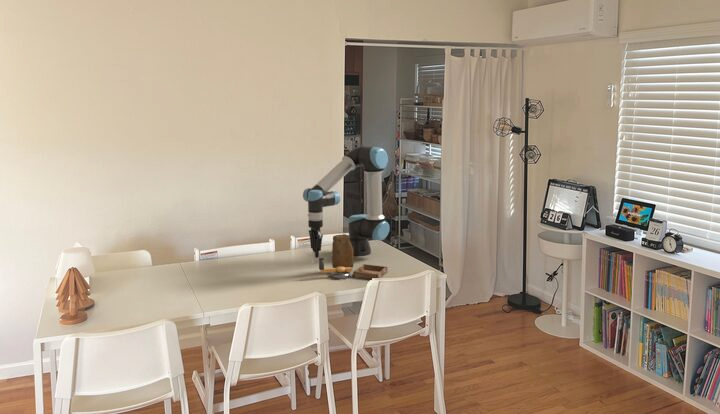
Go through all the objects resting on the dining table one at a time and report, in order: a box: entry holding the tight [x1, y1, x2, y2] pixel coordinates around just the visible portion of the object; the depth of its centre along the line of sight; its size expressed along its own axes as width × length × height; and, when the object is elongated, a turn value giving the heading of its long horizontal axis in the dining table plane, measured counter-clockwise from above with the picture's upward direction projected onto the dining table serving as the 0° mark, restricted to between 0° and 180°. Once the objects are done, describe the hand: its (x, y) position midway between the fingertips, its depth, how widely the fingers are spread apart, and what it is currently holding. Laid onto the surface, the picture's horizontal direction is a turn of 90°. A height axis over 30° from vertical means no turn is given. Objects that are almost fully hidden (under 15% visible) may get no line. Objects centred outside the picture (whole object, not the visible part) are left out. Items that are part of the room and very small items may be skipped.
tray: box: [352, 263, 388, 280], centre depth 330 cm, size 15×14×3 cm
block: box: [331, 233, 354, 269], centre depth 336 cm, size 11×8×20 cm
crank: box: [318, 257, 353, 274], centre depth 326 cm, size 17×5×8 cm, turn 98°
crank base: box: [330, 271, 351, 280], centre depth 327 cm, size 10×10×3 cm
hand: (316, 262), depth 331 cm, fingers closed
